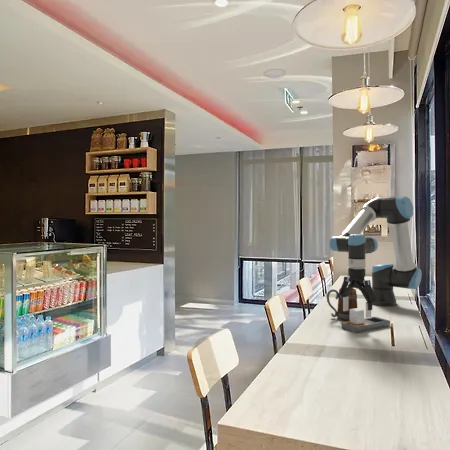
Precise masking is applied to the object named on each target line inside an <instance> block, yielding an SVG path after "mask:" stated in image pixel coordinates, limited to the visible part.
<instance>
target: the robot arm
mask: <svg viewBox="0 0 450 450" xmlns="http://www.w3.org/2000/svg"><path fill="white" fill-rule="evenodd" d="M413 216H414V205H413V202H412V199H410V198H409V197H408V196H401V195H398V196H396V195H395V196H379V197H375V198H372V199H371V200H369V201H367V202H366V203H365V204H363V205H362V206H360V208H359V210H358V214H357V215H356V216H355V217H354V218H353V219H352V220H351V221H350V222H349V224H348V225H347V226H346V227H345V228H344V230H343V231H342V232H341V233H340V235H336V236H332V237H330V239H329V248H330V250H331V251H332V252H338V253H341V252H342V253H347V254H348V258H347V259H348V264H347V266H348V269H347V270H348V273H347V275H348V276H344V277H343V281H342V284H341V286H340V288H341V289H340V288H339V289H340V291H339V290H338V293H339V295H341V296H342V303H343V311H348V297H346V296H348V294H349V293H350V291H351V290H352V289H356V290H359V291H360V292H361V294H362V296H363V297H364V299H365V301H366V302H365V318H370V317H372V311H373V305H375V306H381V307H382V306H383V307H388V306H389V307H390V306H392V307H393V306H396V305H397V298H396V295H395V292H394V288H402V289H408V290H416V289H418V288H419V286H420V283H421V282H422V276H423V275H422V274H423V273H422V269H421V268H418V267H417V263H415V261H414V260H413V253H412V252H413V251H412V246H411V237H410V230H409V223H410V221H411V218H412V217H413ZM376 219H386V224H388V225H390V231H391V237H392V244H393V249H394V257H395V264H394V263H378V264H374V265H373V266H372V269H371V280H370V279H367V280H365V278H366V254H372V253H374V252H376V251H377V250H378V247H379V243H378V241H377V239H376V238H374V237H371V236H367V237H366V235H365V234H362V233H363V231H365V229H366V228H367V227H368V225H369V224H370V223H372V222H374V221H375V220H376Z"/></svg>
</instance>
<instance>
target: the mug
mask: <svg viewBox="0 0 450 450" xmlns="http://www.w3.org/2000/svg"><path fill="white" fill-rule="evenodd" d="M340 289H341V287H340V288H339V289H338V290H336V289H334V288H332V289H329V290H328V291H327V293H326V302H327V304H328V306H329V307H330V308H331V309H332V310H333V311H334V313H333V312H331V313H330V315H331V317H333V318H337V319H338V320H341V321H343V322H349V321H350V309H354V308H358V294H357V289H356V288H353V289H352V290H351V291H350V293H349V294H348V296H346V297H348V311H343V303H342V296H341V295H339V291H340ZM331 293H336V295H335V297H334V298H335V300H337V310H336V308H335V307H334V306H333V305H332V304H331V302H330V294H331Z"/></svg>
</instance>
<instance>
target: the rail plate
mask: <svg viewBox="0 0 450 450" xmlns="http://www.w3.org/2000/svg"><path fill="white" fill-rule="evenodd" d="M387 327H391V320H388V319H385V318H380V317H378V316H371V317H368V318H366V317H364V325H358V326H356V325H353V324H350V321H343V322H341V329H343V330H345V331H349V332H353V333H355V334H359V333H364V332H369V331H373V330H378V329H383V328H387Z"/></svg>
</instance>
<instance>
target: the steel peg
mask: <svg viewBox="0 0 450 450" xmlns="http://www.w3.org/2000/svg"><path fill="white" fill-rule="evenodd" d="M364 319H365V309H361V308H358V307H357V308H354V309H350V324H353V325H356V326H358V325H364Z"/></svg>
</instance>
